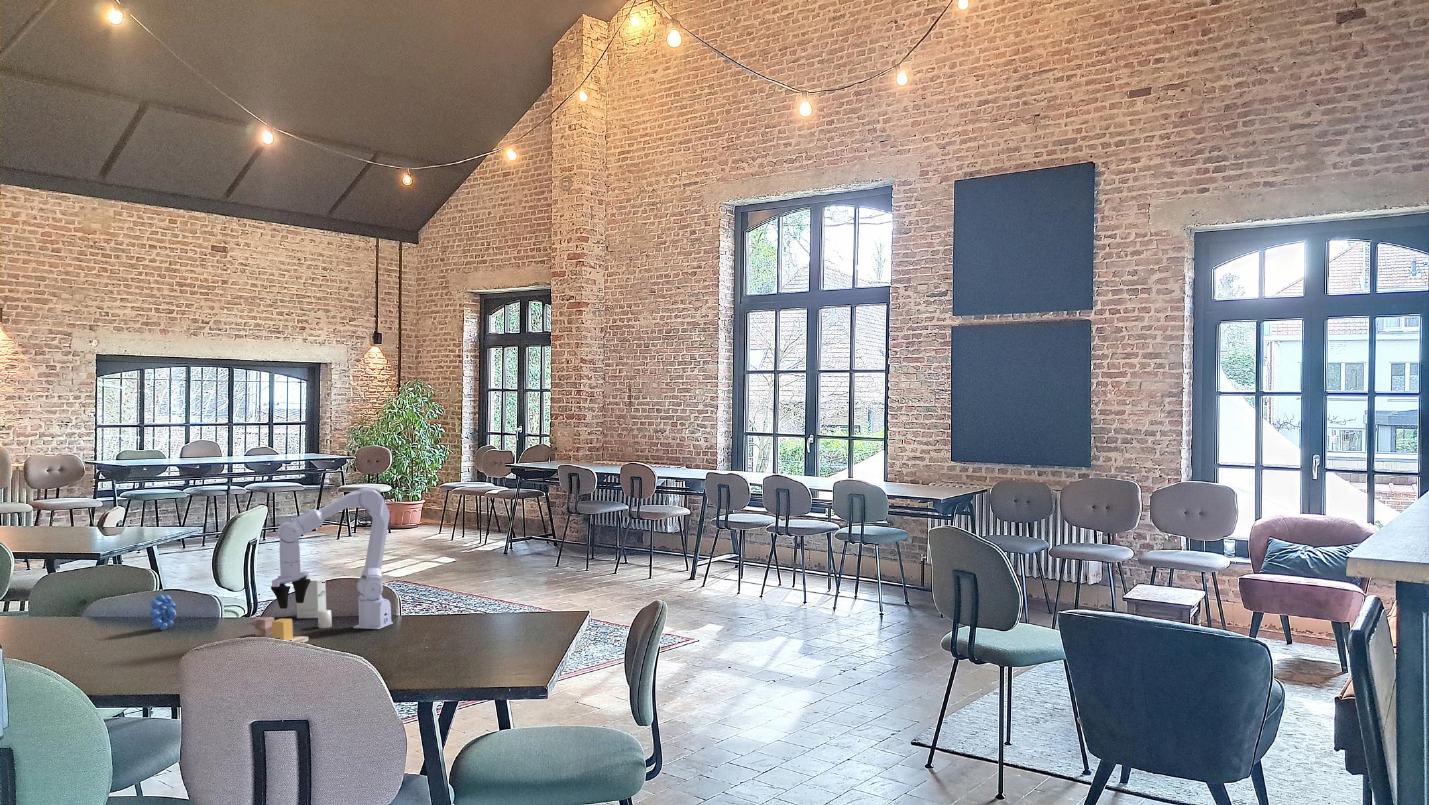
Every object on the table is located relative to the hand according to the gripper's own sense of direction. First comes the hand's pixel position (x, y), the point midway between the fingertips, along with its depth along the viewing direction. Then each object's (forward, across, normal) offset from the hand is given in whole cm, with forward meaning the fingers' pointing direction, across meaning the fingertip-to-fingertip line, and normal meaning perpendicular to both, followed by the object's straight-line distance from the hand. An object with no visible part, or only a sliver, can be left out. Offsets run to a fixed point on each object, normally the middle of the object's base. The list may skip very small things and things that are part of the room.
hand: (291, 605), depth 312 cm
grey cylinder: (+10, -14, +1) cm, 17 cm away
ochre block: (+9, +8, +3) cm, 12 cm away
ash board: (+10, +8, +3) cm, 13 cm away
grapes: (+10, -2, -49) cm, 50 cm away
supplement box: (+10, -27, -14) cm, 32 cm away
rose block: (+10, -2, -12) cm, 16 cm away
